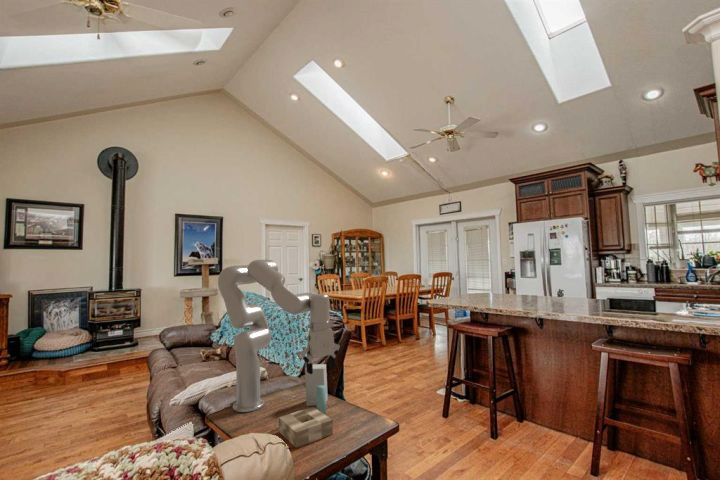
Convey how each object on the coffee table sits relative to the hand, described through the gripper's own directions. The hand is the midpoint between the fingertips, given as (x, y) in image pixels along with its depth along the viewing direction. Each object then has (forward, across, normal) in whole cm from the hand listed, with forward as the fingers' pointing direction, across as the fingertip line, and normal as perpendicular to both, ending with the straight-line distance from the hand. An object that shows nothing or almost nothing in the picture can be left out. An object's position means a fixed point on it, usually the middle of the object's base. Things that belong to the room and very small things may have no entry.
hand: (320, 370), depth 135 cm
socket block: (+18, -10, -6) cm, 22 cm away
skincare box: (+18, +6, +14) cm, 24 cm away
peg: (+18, 0, 0) cm, 18 cm away
